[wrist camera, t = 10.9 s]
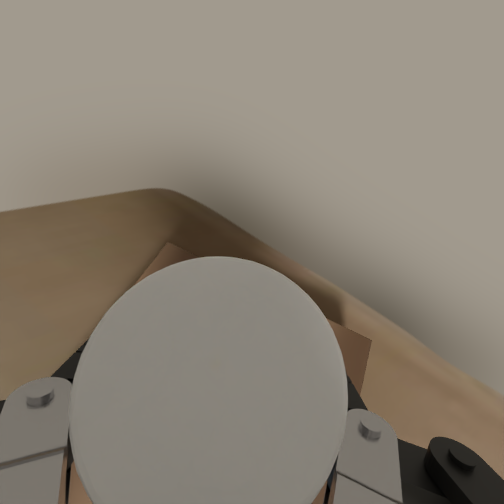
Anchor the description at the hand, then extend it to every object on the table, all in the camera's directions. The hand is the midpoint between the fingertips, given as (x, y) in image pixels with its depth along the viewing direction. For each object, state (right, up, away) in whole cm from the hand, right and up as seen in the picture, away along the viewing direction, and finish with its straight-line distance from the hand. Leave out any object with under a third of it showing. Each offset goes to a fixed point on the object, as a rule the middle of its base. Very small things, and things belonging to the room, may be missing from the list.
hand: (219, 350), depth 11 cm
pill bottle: (-1, -4, +3) cm, 5 cm away
